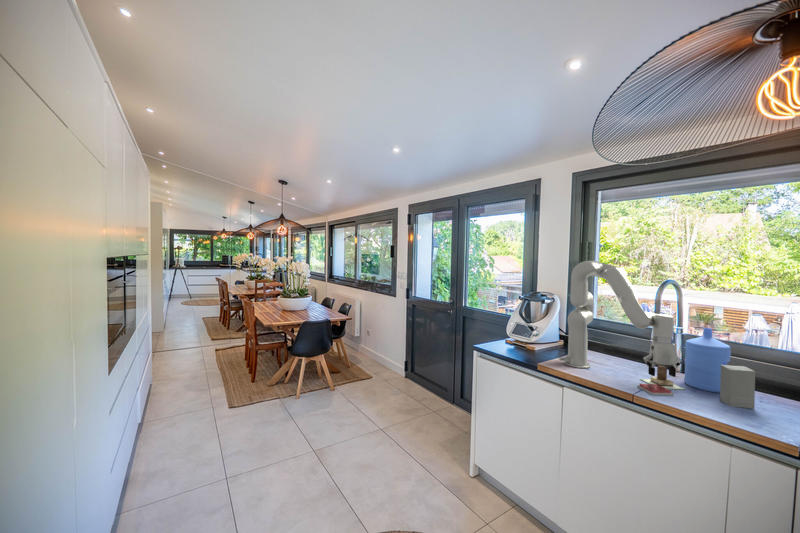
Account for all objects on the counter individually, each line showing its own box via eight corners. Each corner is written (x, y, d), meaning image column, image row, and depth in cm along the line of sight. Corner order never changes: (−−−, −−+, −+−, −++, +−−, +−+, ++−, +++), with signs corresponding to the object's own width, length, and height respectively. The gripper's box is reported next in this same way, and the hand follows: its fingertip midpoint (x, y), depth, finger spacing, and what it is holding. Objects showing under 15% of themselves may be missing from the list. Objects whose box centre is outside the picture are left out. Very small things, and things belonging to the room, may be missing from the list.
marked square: (658, 389, 146) (658, 388, 146) (639, 379, 158) (639, 378, 158) (685, 389, 146) (685, 389, 146) (664, 380, 158) (664, 379, 158)
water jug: (694, 390, 146) (696, 330, 146) (677, 379, 161) (679, 324, 161) (738, 395, 141) (740, 333, 140) (717, 383, 155) (718, 327, 155)
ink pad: (652, 395, 139) (652, 390, 139) (637, 387, 148) (637, 383, 148) (673, 395, 139) (673, 391, 139) (657, 387, 148) (657, 383, 148)
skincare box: (743, 403, 133) (744, 365, 133) (756, 410, 126) (757, 371, 126) (718, 400, 136) (719, 363, 136) (729, 406, 129) (730, 368, 129)
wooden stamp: (660, 385, 149) (660, 368, 149) (650, 381, 155) (651, 364, 155) (673, 386, 149) (673, 369, 149) (663, 381, 155) (663, 365, 155)
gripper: (650, 341, 149) (649, 377, 149) (688, 342, 148) (687, 379, 148) (638, 337, 156) (637, 372, 156) (674, 338, 156) (673, 373, 156)
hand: (661, 375), depth 152 cm, fingers open, 9 cm apart
